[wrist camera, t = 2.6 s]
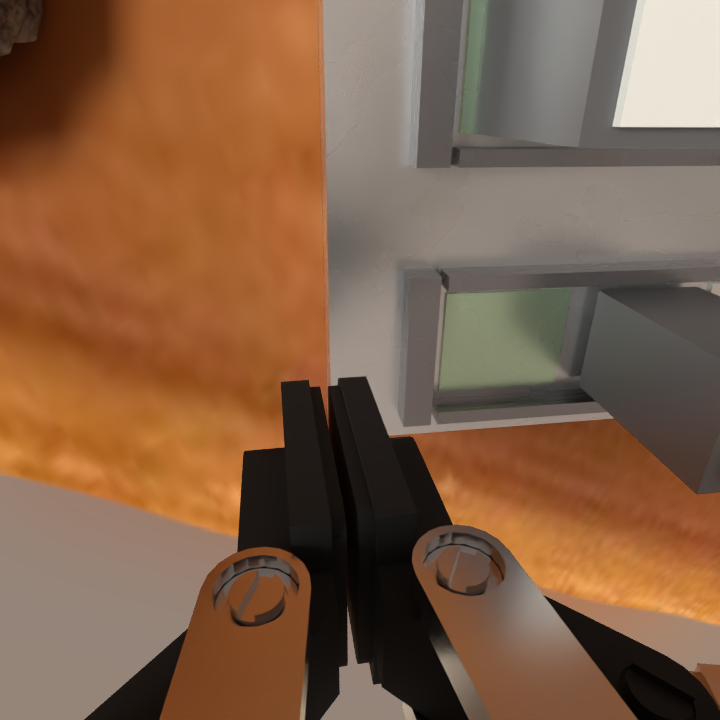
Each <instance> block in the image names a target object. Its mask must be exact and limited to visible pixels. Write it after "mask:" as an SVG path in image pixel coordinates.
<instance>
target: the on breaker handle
mask: <svg viewBox="0 0 720 720" xmlns="http://www.w3.org/2000/svg"><path fill="white" fill-rule="evenodd" d="M473 134H481V135H488V136H495V137H503V138H510V139H517V140H525V141H532V142H539V143H547V144H554V145H561V146H569V147H576V148H672V147H720V0H485V4H484V15H483V26H482V37H481V48H480V58H479V69H478V80H477V91H476V102H475V113H474V124H473Z"/></svg>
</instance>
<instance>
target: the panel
mask: <svg viewBox="0 0 720 720" xmlns="http://www.w3.org/2000/svg"><path fill="white" fill-rule="evenodd" d="M484 4H485V0H318V39H319V81H320V123H321V165H322V207H323V248H324V290H325V332H326V374H327V414H328V386H334V385H338V378H346V377H360V376H366V378H367V380H368V382H369V385H370V388H371V390H372V393H373V396H374V398H375V401H376V404H377V406H378V409H379V412H380V414H381V417H382V420H383V422H384V425H385V428H386V430H387V433H388V435H403V434H416V433H429V432H442V431H455V430H468V429H482V428H495V427H508V426H521V425H534V424H547V423H561V422H574V421H587V420H600V419H613V417H612V416H611V415H610V414H609V413H608V412H607V411H606V410H605V409H604V408H603V407H602V406H600V405H599V404H598V403H597V402H596V401H595V400H594V399H593V398H592V397H591V396H590V395H589V394H587V393H586V392H585V391H584V390H583V389H582V388H581V387H580V386H579V382H580V377H581V372H582V368H583V363H584V358H585V354H586V349H587V344H588V340H589V335H590V330H591V326H592V321H593V316H594V312H595V307H596V302H597V298H598V293H599V291H600V290H624V289H648V288H672V287H696V286H697V287H699V288H702V289H704V290H706V291H709V292H711V293H713V294H716V295H718V296H720V147H672V148H576V147H569V146H561V145H554V144H547V143H539V142H532V141H525V140H517V139H510V138H503V137H495V136H488V135H481V134H473V124H474V113H475V102H476V91H477V80H478V69H479V58H480V48H481V37H482V26H483V15H484Z"/></svg>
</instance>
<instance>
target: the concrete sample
mask: <svg viewBox="0 0 720 720" xmlns="http://www.w3.org/2000/svg"><path fill="white" fill-rule="evenodd" d="M42 14H43V8H42V1H41V0H0V56H3V55H6V54H9V53H10V52H11V49H12V46H13V44H14V43H25V42H32V41H36V39H37V35H38V30H39V26H40V22H41V18H42Z"/></svg>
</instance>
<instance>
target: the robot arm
mask: <svg viewBox="0 0 720 720" xmlns="http://www.w3.org/2000/svg"><path fill="white" fill-rule="evenodd" d="M281 392H282V409H283V426H284V443H285V448H274V449H262V450H251V451H244V455H243V470H242V486H241V502H240V519H239V535H238V551H237V553H235V554H232V555H231V556H229V557H228V558H226V559H225V560H223V561H221V562H220V563H218V565H217V566H216V567H215V568H214V569H213V570H212V571H211V572H210V573H209V574H208V575H207V577H206V579H205V581H204V583H203V585H202V587H201V589H200V593H199V596H198V599H197V602H196V605H195V608H194V611H193V615H192V618H191V621H190V624H189V627H188V629H187V630H186V631H185V632H183V633H182V634H181V635H180V636H179V637H178V638H177V639H175V640H174V641H173V642H172V643H171V644H170V645H169V646H167V647H166V648H165V649H164V650H163V651H162V652H161V653H160V654H158V655H157V656H156V657H155V658H154V659H153V660H152V661H150V662H149V663H148V664H147V665H146V666H145V667H144V668H142V669H141V670H140V671H139V672H138V673H137V674H136V675H134V676H133V677H132V678H131V679H130V680H129V681H128V682H126V683H125V684H124V685H123V686H122V687H121V688H120V689H119V690H117V691H116V692H115V693H114V694H113V695H112V696H111V697H110V698H108V699H107V700H106V701H105V702H104V703H103V704H101V705H100V706H99V707H98V708H97V709H96V710H95V711H94V712H93V713H91V714H90V715H89V716H88V717H87V718H86V719H84V720H320V719H321V718H322V716H323V715H324V714H325V712H326V711H327V710H328V708H329V707H330V706H331V704H332V703H333V702H334V700H335V699H336V698H337V696H338V695H339V667H341V666H347V662H348V658H347V655H348V654H347V606H348V612H349V618H350V624H351V630H352V636H353V642H354V648H355V654H356V659H357V663H358V664H362V663H368V662H369V664H370V670H371V675H372V681H373V684H380V683H381V685H382V687H383V688H384V689H386V690H387V691H389V692H390V693H391V694H393V695H394V696H396V697H397V698H398V699H400V700H401V701H402V706H403V711H404V715H405V719H406V720H720V665H711V664H699V663H698V664H697V666H696V668H695V670H694V672H693V671H688V670H687V669H685V668H684V667H683V666H681V665H680V664H678V663H676V662H675V661H673V660H672V659H670V658H668V657H667V656H665V655H663V654H661V653H659V652H657V651H655V650H653V649H651V648H649V647H647V646H645V645H643V644H641V643H639V642H637V641H635V640H633V639H631V638H629V637H627V636H625V635H623V634H621V633H619V632H617V631H615V630H613V629H611V628H609V627H607V626H605V625H603V624H600V623H599V622H596V621H595V620H593V619H591V618H589V617H587V616H585V615H583V614H581V613H579V612H576V611H574V610H572V609H570V608H568V607H566V606H564V605H562V604H560V603H558V602H556V601H554V600H552V599H550V598H548V597H546V596H544V595H543V594H542V593H541V592H540V590H539V589H538V588H537V586H536V585H535V584H534V582H533V581H532V580H531V578H530V577H529V576H528V574H527V573H526V572H525V570H524V569H523V568H522V567H521V565H520V564H519V563H518V561H517V560H516V559H515V557H514V556H513V555H512V553H511V552H510V551H509V550H508V549H507V548H506V547H505V546H504V545H503V544H502V543H501V542H500V541H499V540H498V539H497V538H495V537H493V536H492V535H490V534H489V533H487V532H485V531H482V530H479V529H476V528H473V527H471V526H462V525H453V524H452V522H451V520H450V517H449V515H448V513H447V511H446V509H445V506H444V504H443V502H442V500H441V497H440V495H439V493H438V491H437V489H436V486H435V484H434V482H433V480H432V477H431V475H430V473H429V471H428V469H427V466H426V464H425V462H424V460H423V458H422V455H421V453H420V451H419V449H418V446H417V444H416V442H415V440H414V439H413V437H410V436H409V437H398V438H389V435H388V433H387V430H386V428H385V425H384V422H383V420H382V417H381V414H380V412H379V409H378V406H377V404H376V401H375V398H374V396H373V393H372V390H371V388H370V385H369V382H368V380H367V378H366V376H360V377H346V378H338V385H334V386H328V421H329V430H328V425H327V420H326V414H325V409H324V404H323V399H322V394H321V389H320V387H310V386H309V380H303V381H289V382H281Z"/></svg>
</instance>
